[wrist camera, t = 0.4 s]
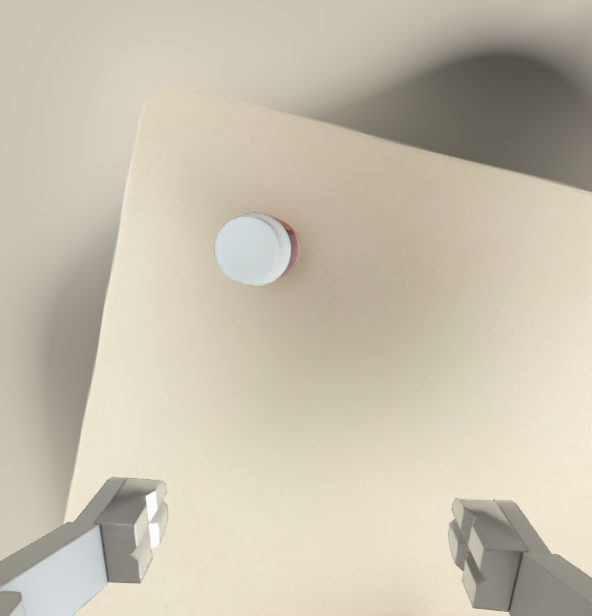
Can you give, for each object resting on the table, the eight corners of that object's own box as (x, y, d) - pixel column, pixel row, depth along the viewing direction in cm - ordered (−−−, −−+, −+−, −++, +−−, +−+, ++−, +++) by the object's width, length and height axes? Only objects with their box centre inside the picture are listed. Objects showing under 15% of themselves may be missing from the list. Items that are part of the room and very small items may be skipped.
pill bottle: (300, 218, 29) (286, 208, 20) (300, 278, 29) (285, 291, 21) (242, 218, 29) (205, 208, 21) (243, 277, 30) (208, 289, 22)
